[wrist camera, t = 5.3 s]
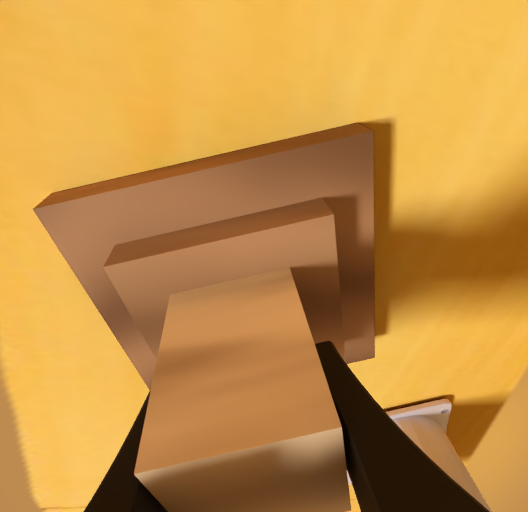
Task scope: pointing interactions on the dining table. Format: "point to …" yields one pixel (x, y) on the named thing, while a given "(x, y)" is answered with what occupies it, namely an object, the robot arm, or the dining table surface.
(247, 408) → the oak block
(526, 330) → the dining table surface
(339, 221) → the walnut pedestal
